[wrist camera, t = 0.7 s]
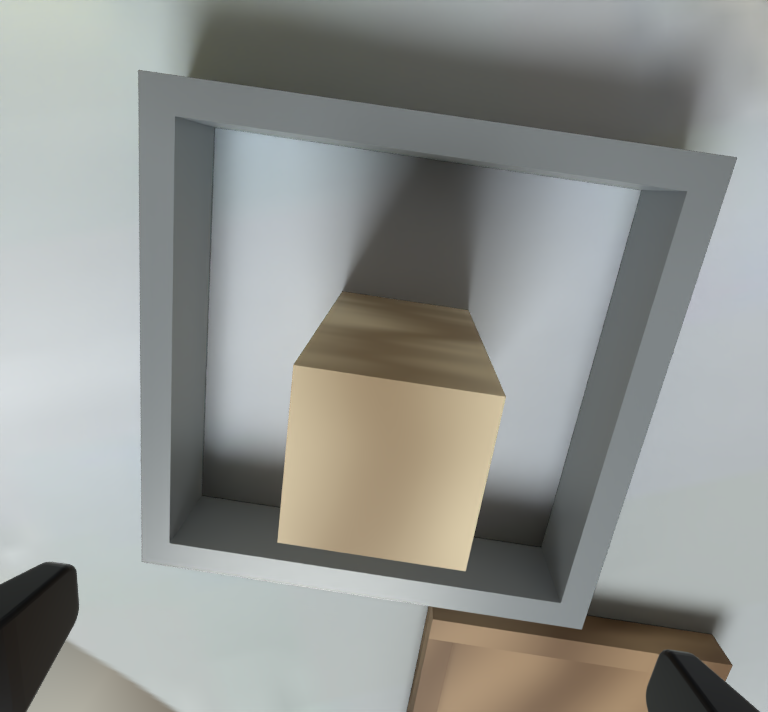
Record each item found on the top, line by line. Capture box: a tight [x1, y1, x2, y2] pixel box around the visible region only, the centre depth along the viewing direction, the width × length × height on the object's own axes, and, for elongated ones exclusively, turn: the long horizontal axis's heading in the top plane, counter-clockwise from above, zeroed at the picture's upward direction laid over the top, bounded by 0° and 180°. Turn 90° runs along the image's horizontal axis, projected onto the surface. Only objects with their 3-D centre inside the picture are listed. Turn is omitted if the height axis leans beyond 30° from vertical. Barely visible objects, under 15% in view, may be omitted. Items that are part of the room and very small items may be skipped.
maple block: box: [277, 291, 506, 571], centre depth 16 cm, size 4×4×8 cm
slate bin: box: [138, 70, 737, 630], centre depth 18 cm, size 16×16×3 cm
